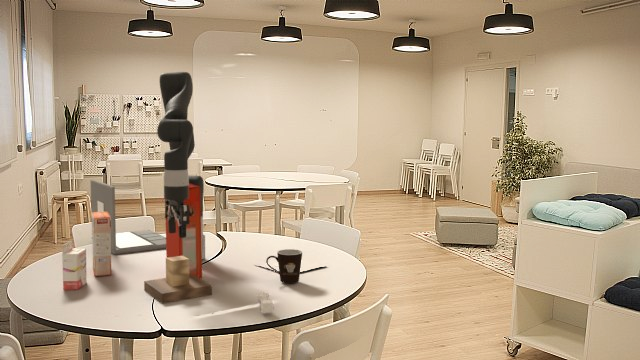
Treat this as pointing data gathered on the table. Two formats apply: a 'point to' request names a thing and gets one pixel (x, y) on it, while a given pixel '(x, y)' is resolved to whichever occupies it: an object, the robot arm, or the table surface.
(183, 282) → the oak block
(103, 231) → the cracker box
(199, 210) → the file binder
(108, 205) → the laptop
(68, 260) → the ink cartridge box
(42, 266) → the table surface
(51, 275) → the table surface
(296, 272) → the coffee mug
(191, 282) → the walnut base
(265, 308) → the game pieces
